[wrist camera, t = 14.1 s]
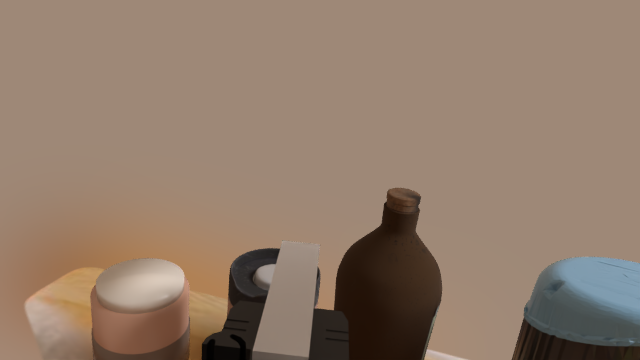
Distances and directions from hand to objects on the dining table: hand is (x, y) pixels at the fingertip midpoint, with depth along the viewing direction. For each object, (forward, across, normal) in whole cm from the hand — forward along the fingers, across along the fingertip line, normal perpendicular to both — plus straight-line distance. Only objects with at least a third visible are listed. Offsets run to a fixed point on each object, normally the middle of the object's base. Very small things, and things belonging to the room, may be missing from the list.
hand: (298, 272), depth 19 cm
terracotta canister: (+22, -16, -30) cm, 41 cm away
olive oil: (+25, +8, -30) cm, 40 cm away
